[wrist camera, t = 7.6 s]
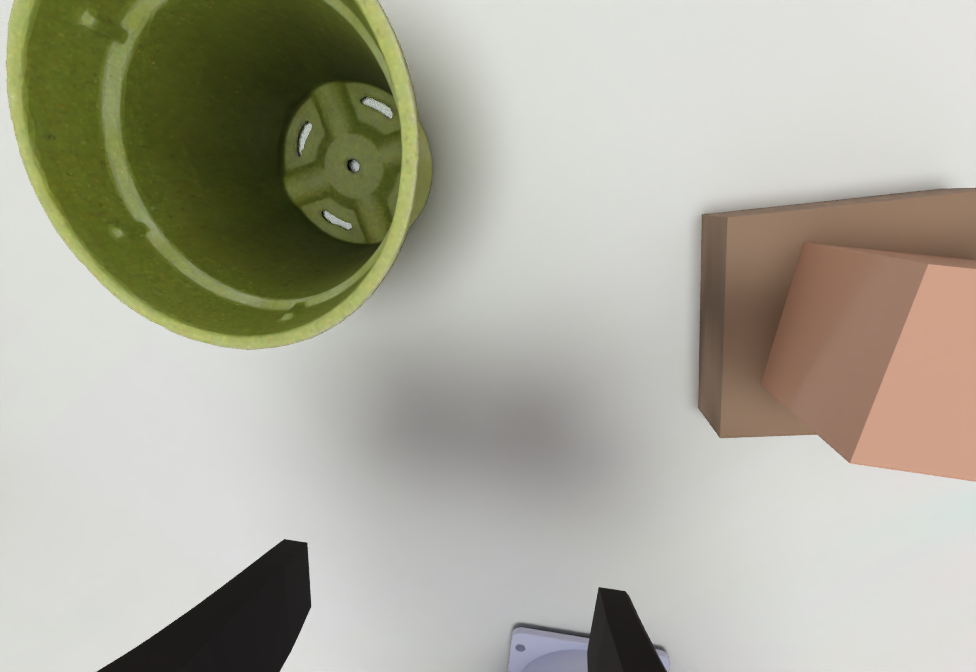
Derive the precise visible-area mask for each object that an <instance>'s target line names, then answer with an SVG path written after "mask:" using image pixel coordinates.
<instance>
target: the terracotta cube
mask: <svg viewBox="0 0 976 672" xmlns="http://www.w3.org/2000/svg"><path fill="white" fill-rule="evenodd" d="M761 385H762V386H763V387H764V388H765V389H766V390H767V391H768V392H770V393H771V394H772V395H773V396H774V397H775V398H776V399H778V400H779V401H780V402H781V403H782V404H783V405H784V406H785V407H787V408H788V409H789V410H790V411H791V412H792V413H793V414H795V415H796V416H797V417H798V418H799V419H800V420H801V421H802V422H804V423H805V424H806V425H807V426H808V427H809V428H810V429H812V430H813V431H814V432H815V433H816V434H817V435H818V436H819V437H821V438H822V439H823V440H824V441H825V442H826V443H827V444H829V445H830V446H831V447H832V448H833V449H834V450H835V451H836V452H838V453H839V454H840V455H841V456H842V457H843V458H844V459H846V460H847V461H848V462H849V463H852V464H858V465H865V466H872V467H879V468H886V469H893V470H900V471H906V472H913V473H920V474H927V475H934V476H941V477H948V478H955V479H961V480H968V481H975V482H976V260H971V259H961V258H952V257H942V256H932V255H923V254H913V253H904V252H894V251H884V250H875V249H865V248H856V247H846V246H836V245H827V244H817V243H807V242H804V243H803V247H802V250H801V253H800V257H799V260H798V263H797V266H796V270H795V273H794V276H793V279H792V283H791V286H790V289H789V293H788V296H787V299H786V302H785V306H784V309H783V312H782V316H781V319H780V322H779V325H778V329H777V332H776V335H775V339H774V342H773V345H772V348H771V352H770V355H769V358H768V362H767V365H766V368H765V371H764V375H763V378H762V381H761Z"/></svg>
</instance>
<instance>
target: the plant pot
mask: <svg viewBox="0 0 976 672" xmlns="http://www.w3.org/2000/svg"><path fill="white" fill-rule="evenodd" d="M6 68H7V94H8V101H9V108H10V116H11V119H12V121H13V125H14V130H15V136H16V139H17V142H18V146H19V152H20V156H21V158H22V161H23V164H24V167H25V169H26V172H27V175H28V177H29V180H30V182H31V184H32V186H33V188H34V191H35V194H36V196H37V197H38V199H39V201H40V203H41V205H42V207H43V209H44V211H45V212H46V214H47V216H48V218H49V219H50V221H51V223H52V225H53V227H54V228H55V230H56V231H57V233H58V235H59V236H60V237H61V238H62V239H63V241H64V242H65V243H66V245H67V246H68V248H69V249H70V250H71V251H72V252H73V254H74V255H75V256H76V257H77V258H78V260H79V261H80V262H81V263H83V264H84V265H85V266H86V267H87V269H88V270H89V271H90V272H91V273H92V274H93V275H94V276H95V277H96V278H97V280H98V281H99V282H100V283H101V284H102V285H103V286H104V287H105V288H107V289H108V290H109V291H110V292H111V293H112V294H113V295H114V296H115V297H116V298H118V299H119V300H120V301H121V302H122V303H124V304H125V305H127V306H128V307H129V308H131V309H132V310H134V311H135V312H137V313H138V314H140V315H142V316H144V317H145V318H147V319H148V320H150V321H152V322H154V323H157V324H159V325H161V326H163V327H165V328H166V329H167V330H169V331H171V332H174V333H176V334H179V335H182V336H184V337H187V338H189V339H192V340H196V341H200V342H204V343H209V344H212V345H216V346H221V347H227V348H236V349H247V350H251V349H263V348H273V347H279V346H285V345H289V344H294V343H297V342H300V341H304V340H307V339H310V338H313V337H314V336H317V335H319V334H321V333H323V332H325V331H327V330H329V329H331V328H332V327H334V326H336V325H337V324H339V323H340V322H342V321H344V320H345V319H346V318H347V317H348V316H350V315H351V314H352V313H354V312H355V311H356V310H357V309H358V308H359V307H360V306H361V305H362V304H363V303H364V302H365V301H366V300H367V299H368V298H369V297H370V296H371V295H372V294H373V292H374V291H375V290H376V289H377V287H378V286H379V285H380V284H381V282H382V281H383V280H384V278H385V277H386V275H387V274H388V272H389V270H390V269H391V267H392V266H393V264H394V262H395V261H396V259H397V257H398V254H399V252H400V250H401V247H402V245H403V243H404V241H405V238H406V235H407V232H408V229H409V227H410V226H411V225H412V224H413V223H414V222H415V220H416V219H417V218H418V216H419V215H420V213H421V212H422V210H423V208H424V206H425V204H426V201H427V198H428V196H429V192H430V188H431V183H432V173H433V166H432V156H431V151H430V147H429V143H428V140H427V137H426V134H425V132H424V129H423V127H422V125H421V123H420V121H419V120H418V112H417V106H416V100H415V94H414V89H413V85H412V81H411V78H410V74H409V70H408V67H407V63H406V60H405V57H404V55H403V52H402V49H401V46H400V44H399V41H398V39H397V37H396V34H395V32H394V30H393V28H392V26H391V24H390V22H389V20H388V18H387V16H386V14H385V12H384V10H383V9H382V7H381V5H380V3H379V2H378V0H14V2H13V6H12V10H11V14H10V19H9V23H8V39H7V60H6ZM366 96H367V97H370V98H373V99H375V100H377V101H379V102H381V103H384V104H385V105H387V106H388V107H390V108H391V111H392V113H393V117H392V119H389V118H388V117H386V116H385V115H383V114H382V113H380V112H379V111H377V110H375V109H373V108H371V107H370V106H366V105H364V104H362V103H361V99H363V98H364V97H366ZM307 121H308V122H310V123H311V124H312V130H311V131H310V133H309V135H308V138H307V140H306V142H305V145H304V149H303V150H302V151H301V153H302V155H301V156H298V155H299V154H298V152H297V140H298V135H299V132H300V130H301V128H302V126H303V125H304V124H305V123H306V122H307ZM350 159H355V160H356V161H357V162H358V163H359V164H360V168H359V170H358V171H357V172H356V173H353V172H351V171H349V170H348V167H347V163H348V161H349V160H350ZM324 210H326V211H328V212H329V213H330V214H332V215H334V216H335V217H337V218H339V219H341V220H343V221H345V222H348V223H351V225H352V228H351V229H350V230H345V229H343V228H341V227H339V226H337V225H332V224H330V223H329V222H328V221H326V220H325V219H324V218H323V217H322V211H324Z"/></svg>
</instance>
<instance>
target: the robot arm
mask: <svg viewBox="0 0 976 672" xmlns="http://www.w3.org/2000/svg"><path fill="white" fill-rule="evenodd" d="M310 608H311V594H310V579H309V563H308V547H307V543H305V542H299V541H292V540H286V539H284V540H283V541H281V542H280V543H279V544H277V545H276V546H275V547H273V548H272V549H271V550H269V551H268V552H267V553H265V554H264V555H263V556H261V557H260V558H259V559H258V560H256V561H255V562H254V563H252V564H251V565H250V566H248V567H247V568H246V569H245V570H243V571H242V572H241V573H239V574H238V575H237V576H235V577H234V578H233V579H232V580H230V581H229V582H228V583H226V584H225V585H224V586H222V587H221V588H220V589H218V590H217V591H215V592H214V593H213V594H211V595H210V596H209V597H207V598H206V599H205V600H203V601H202V602H201V603H199V604H198V605H197V606H195V607H194V608H192V609H191V610H190V611H188V612H187V613H185V614H184V615H182V616H181V617H180V618H178V619H177V620H175V621H174V622H172V623H171V624H170V625H168V626H167V627H165V628H164V629H162V630H161V631H159V632H158V633H157V634H155V635H154V636H152V637H151V638H149V639H148V640H146V641H145V642H143V643H142V644H140V645H139V646H137V647H136V648H134V649H132V650H131V651H129V652H128V653H126V654H125V655H123V656H122V657H120V658H118V659H117V660H115V661H113V662H112V663H110V664H108V665H107V666H105V667H103V668H102V669H100V670H99V671H97V672H280V670H281V668H282V666H283V665H284V663H285V661H286V659H287V657H288V656H289V654H290V652H291V650H292V648H293V646H294V644H295V642H296V639H297V637H298V635H299V633H300V631H301V628H302V626H303V624H304V622H305V619H306V617H307V615H308V612H309V610H310ZM520 644H522V645H520ZM669 667H670V660H669V656H668V654H667V653H666V652H664V651H662V650H658V649H655V648H654V646H653V644H652V642H651V640H650V638H649V637H648V635H647V633H646V631H645V629H644V627H643V625H642V623H641V620H640V618H639V616H638V614H637V612H636V610H635V608H634V606H633V604H632V601H631V599H630V597H629V595H628V594H627V593H626V592H625V591H620V590H614V589H607V588H600V587H599V589H598V594H597V600H596V605H595V611H594V616H593V622H592V627H591V633H590V638H585V637H579V636H573V635H567V634H560V633H554V632H548V631H542V630H536V629H530V628H524V627H518V628H515V629H514V630H513V632H512V638H511V647H510V655H509V664H508V672H668V671H669Z"/></svg>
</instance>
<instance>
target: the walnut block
mask: <svg viewBox="0 0 976 672" xmlns="http://www.w3.org/2000/svg"><path fill="white" fill-rule="evenodd" d="M804 242H807V243H817V244H827V245H836V246H846V247H856V248H865V249H875V250H884V251H894V252H904V253H913V254H923V255H932V256H942V257H952V258H961V259H971V260H976V188H952V189H936V190H927V191H917V192H908V193H899V194H889V195H880V196H871V197H862V198H852V199H843V200H834V201H824V202H815V203H806V204H796V205H787V206H778V207H769V208H759V209H750V210H741V211H731V212H722V213H713V214H704V215H702V240H701V293H700V347H699V401H698V408H699V410H700V411H701V412H702V414H703V415H704V417H705V418H706V419H707V421H708V422H709V423H710V425H711V426H712V428H713V429H714V430H715V432H716V433H717V435H718V436H719V437H720V438H737V437H764V436H791V435H817V434H816V433H815V432H814V431H813V430H812V429H810V428H809V427H808V426H807V425H806V424H805V423H804V422H802V421H801V420H800V419H799V418H798V417H797V416H796V415H795V414H793V413H792V412H791V411H790V410H789V409H788V408H787V407H785V406H784V405H783V404H782V403H781V402H780V401H779V400H778V399H776V398H775V397H774V396H773V395H772V394H771V393H770V392H768V391H767V390H766V389H765V388H764V387H763V386H762V385H761V381H762V378H763V375H764V371H765V368H766V365H767V362H768V358H769V355H770V352H771V348H772V345H773V342H774V339H775V335H776V332H777V329H778V325H779V322H780V319H781V316H782V312H783V309H784V306H785V302H786V299H787V296H788V293H789V289H790V286H791V283H792V279H793V276H794V273H795V270H796V266H797V263H798V260H799V257H800V253H801V250H802V247H803V243H804Z"/></svg>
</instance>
